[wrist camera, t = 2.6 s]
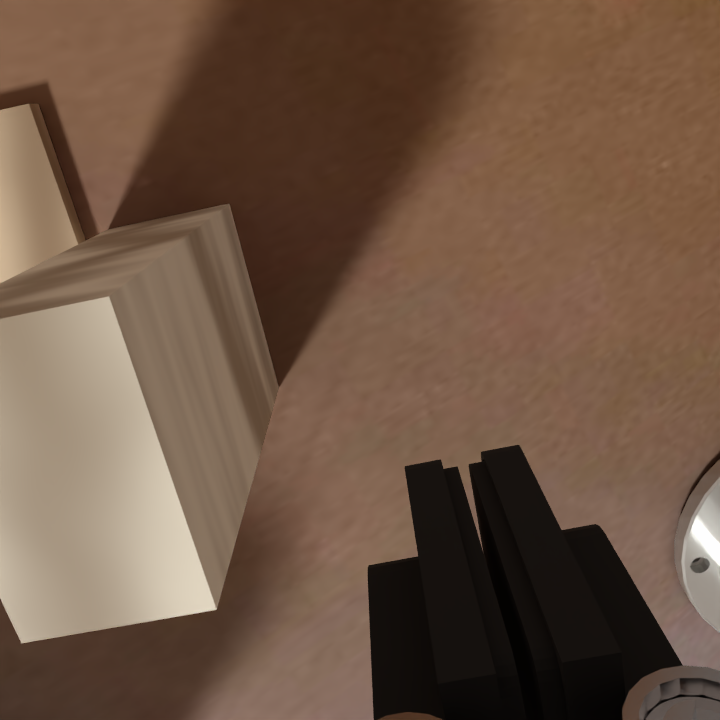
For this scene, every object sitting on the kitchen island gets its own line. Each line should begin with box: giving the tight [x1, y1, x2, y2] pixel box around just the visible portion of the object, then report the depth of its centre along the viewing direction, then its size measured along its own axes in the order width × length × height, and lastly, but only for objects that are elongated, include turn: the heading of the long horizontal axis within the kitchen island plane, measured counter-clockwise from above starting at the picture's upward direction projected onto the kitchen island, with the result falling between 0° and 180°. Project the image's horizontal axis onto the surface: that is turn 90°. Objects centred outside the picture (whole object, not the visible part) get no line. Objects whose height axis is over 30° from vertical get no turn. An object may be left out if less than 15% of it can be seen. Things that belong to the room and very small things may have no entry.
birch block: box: [0, 204, 279, 643], centre depth 22 cm, size 5×8×14 cm, turn 12°
